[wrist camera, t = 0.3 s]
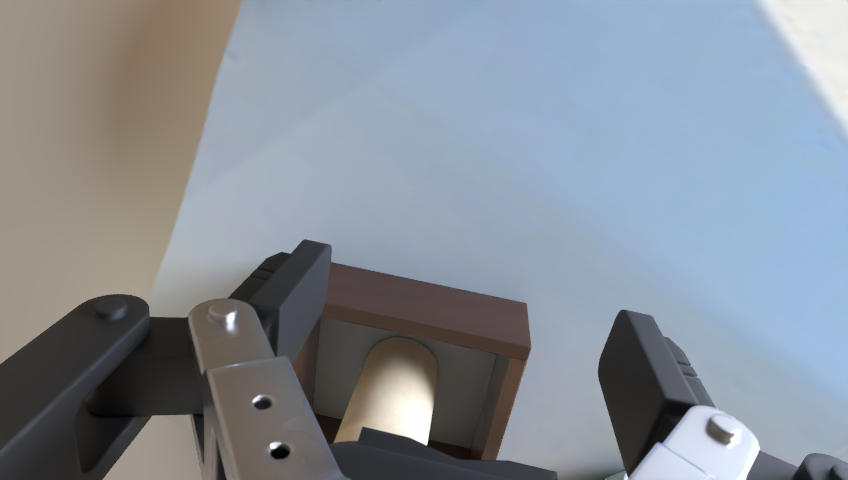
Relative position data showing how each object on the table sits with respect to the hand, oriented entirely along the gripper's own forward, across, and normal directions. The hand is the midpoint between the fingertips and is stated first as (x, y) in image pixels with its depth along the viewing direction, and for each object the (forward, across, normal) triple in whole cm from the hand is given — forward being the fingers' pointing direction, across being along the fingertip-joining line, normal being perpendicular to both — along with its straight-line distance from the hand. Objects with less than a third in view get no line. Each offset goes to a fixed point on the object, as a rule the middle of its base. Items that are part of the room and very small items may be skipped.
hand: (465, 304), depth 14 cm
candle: (+18, +2, +17) cm, 25 cm away
